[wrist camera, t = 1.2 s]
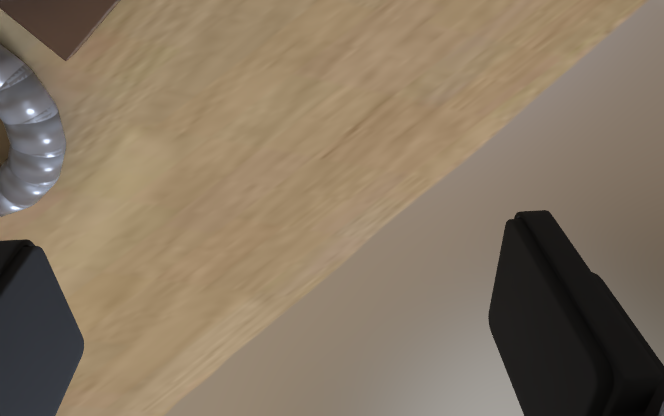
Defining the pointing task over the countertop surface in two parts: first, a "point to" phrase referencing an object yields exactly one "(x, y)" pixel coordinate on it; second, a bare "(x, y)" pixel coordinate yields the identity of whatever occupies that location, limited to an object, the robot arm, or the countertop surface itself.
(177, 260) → the countertop surface
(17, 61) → the grey ridged ring
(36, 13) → the post
